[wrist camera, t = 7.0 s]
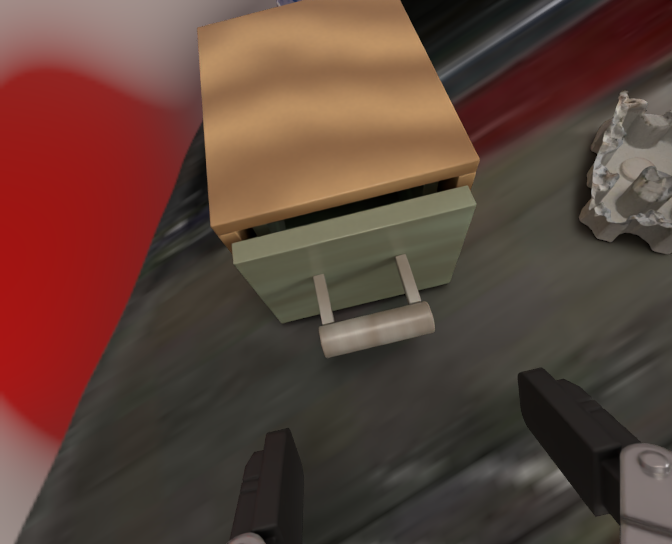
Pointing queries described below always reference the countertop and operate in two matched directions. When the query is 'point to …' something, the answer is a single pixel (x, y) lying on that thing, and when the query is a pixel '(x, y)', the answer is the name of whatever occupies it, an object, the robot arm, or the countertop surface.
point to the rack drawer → (360, 263)
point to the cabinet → (321, 112)
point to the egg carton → (632, 176)
